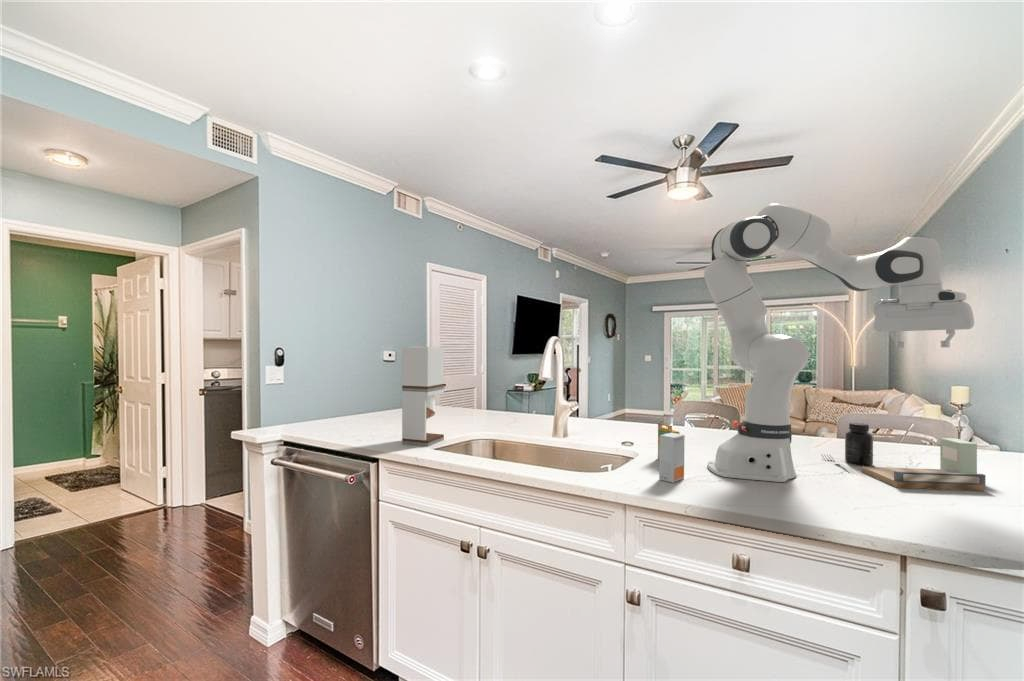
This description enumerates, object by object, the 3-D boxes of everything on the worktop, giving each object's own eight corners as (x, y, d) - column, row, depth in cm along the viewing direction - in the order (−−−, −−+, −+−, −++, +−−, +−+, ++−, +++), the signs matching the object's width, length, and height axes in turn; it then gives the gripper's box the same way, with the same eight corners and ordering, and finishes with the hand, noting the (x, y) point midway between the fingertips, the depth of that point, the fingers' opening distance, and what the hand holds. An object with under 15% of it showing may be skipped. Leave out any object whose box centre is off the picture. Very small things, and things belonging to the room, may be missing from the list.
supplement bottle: (878, 467, 135) (878, 426, 135) (852, 465, 136) (852, 425, 136) (865, 461, 141) (865, 422, 141) (840, 459, 143) (840, 421, 143)
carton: (959, 480, 121) (959, 443, 121) (940, 473, 128) (940, 438, 128) (977, 481, 121) (977, 443, 121) (956, 474, 127) (956, 438, 127)
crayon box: (680, 463, 138) (680, 425, 138) (671, 464, 137) (671, 426, 137) (665, 457, 145) (665, 421, 145) (657, 458, 144) (657, 422, 144)
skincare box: (673, 483, 119) (673, 437, 119) (658, 479, 122) (658, 435, 122) (685, 478, 123) (685, 434, 123) (670, 475, 126) (670, 432, 126)
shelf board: (897, 488, 115) (897, 472, 115) (861, 471, 129) (861, 457, 129) (986, 491, 113) (986, 475, 113) (940, 474, 127) (940, 460, 127)
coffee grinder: (427, 446, 160) (427, 347, 161) (402, 444, 164) (402, 347, 164) (443, 439, 171) (443, 346, 171) (419, 437, 175) (419, 346, 175)
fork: (859, 482, 121) (859, 475, 121) (819, 459, 145) (819, 453, 145) (873, 483, 121) (873, 476, 121) (830, 459, 144) (830, 454, 144)
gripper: (869, 300, 131) (871, 348, 131) (969, 292, 114) (971, 347, 114) (877, 300, 134) (878, 347, 134) (974, 293, 118) (976, 346, 118)
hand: (921, 347), depth 124 cm, fingers open, 8 cm apart
